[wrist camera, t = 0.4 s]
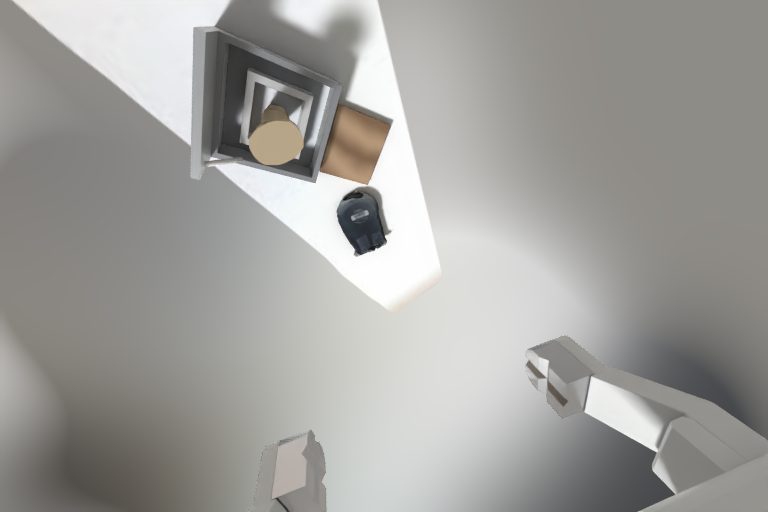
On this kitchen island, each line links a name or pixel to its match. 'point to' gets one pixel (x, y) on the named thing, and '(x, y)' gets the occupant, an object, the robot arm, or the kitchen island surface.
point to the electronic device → (361, 223)
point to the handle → (275, 138)
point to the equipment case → (246, 105)
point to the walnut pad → (353, 145)
